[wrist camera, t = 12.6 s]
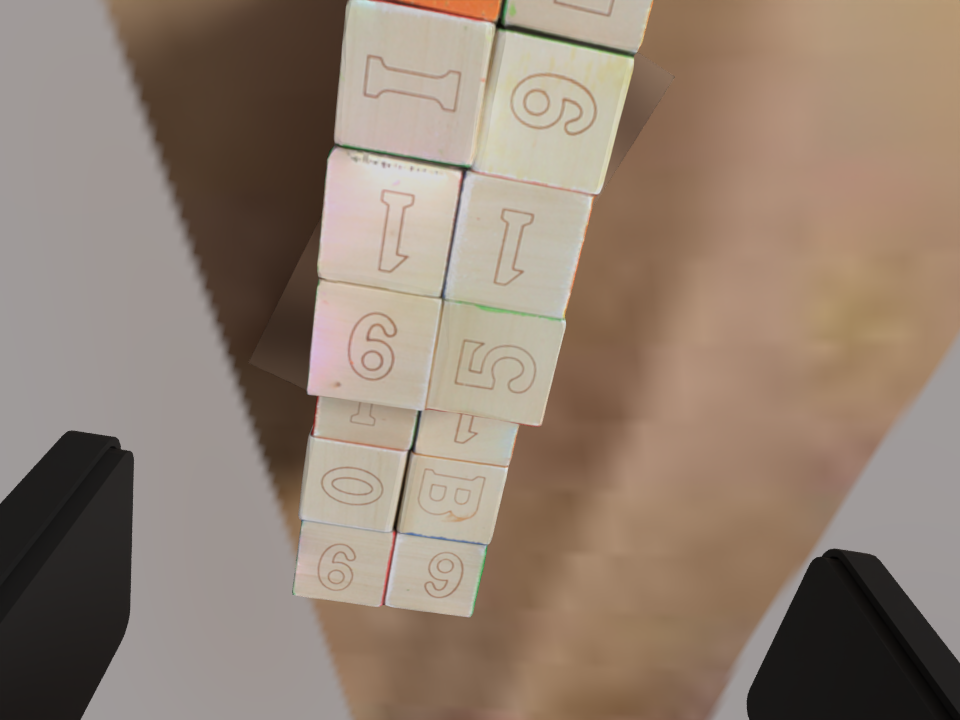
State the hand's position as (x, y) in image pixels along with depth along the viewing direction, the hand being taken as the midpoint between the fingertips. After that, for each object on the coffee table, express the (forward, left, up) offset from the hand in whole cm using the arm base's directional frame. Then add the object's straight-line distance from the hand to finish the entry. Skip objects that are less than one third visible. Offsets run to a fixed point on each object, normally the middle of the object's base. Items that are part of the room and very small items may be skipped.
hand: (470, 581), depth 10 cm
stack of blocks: (+1, 0, -21) cm, 21 cm away
